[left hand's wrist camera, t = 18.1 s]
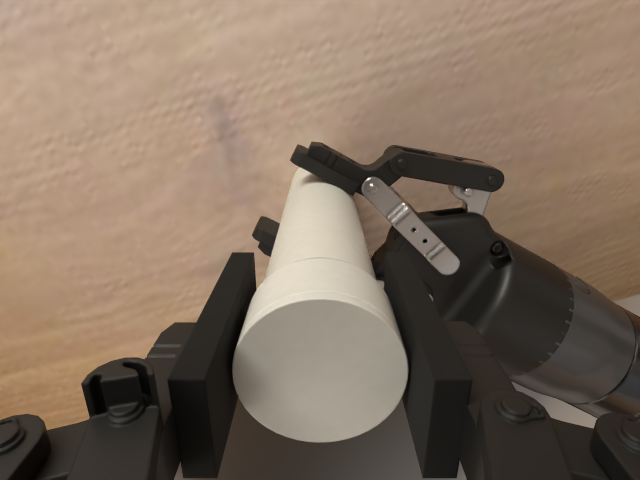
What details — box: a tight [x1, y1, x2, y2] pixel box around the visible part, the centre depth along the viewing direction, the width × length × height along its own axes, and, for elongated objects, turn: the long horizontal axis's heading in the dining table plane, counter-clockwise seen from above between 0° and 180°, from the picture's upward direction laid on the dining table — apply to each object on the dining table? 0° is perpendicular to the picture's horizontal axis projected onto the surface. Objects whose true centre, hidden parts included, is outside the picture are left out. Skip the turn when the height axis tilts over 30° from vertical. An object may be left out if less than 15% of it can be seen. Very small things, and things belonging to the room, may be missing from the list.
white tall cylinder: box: [264, 167, 377, 281], centre depth 20 cm, size 4×4×19 cm
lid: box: [232, 258, 409, 442], centre depth 11 cm, size 4×4×2 cm
